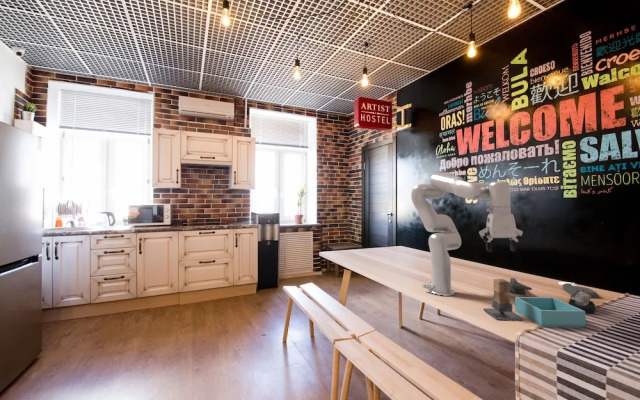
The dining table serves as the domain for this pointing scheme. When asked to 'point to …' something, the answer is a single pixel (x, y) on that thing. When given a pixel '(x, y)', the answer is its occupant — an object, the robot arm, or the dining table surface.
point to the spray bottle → (572, 287)
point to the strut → (501, 296)
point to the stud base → (502, 314)
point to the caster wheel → (582, 301)
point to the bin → (550, 312)
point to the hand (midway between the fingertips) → (501, 251)
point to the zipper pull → (517, 287)
